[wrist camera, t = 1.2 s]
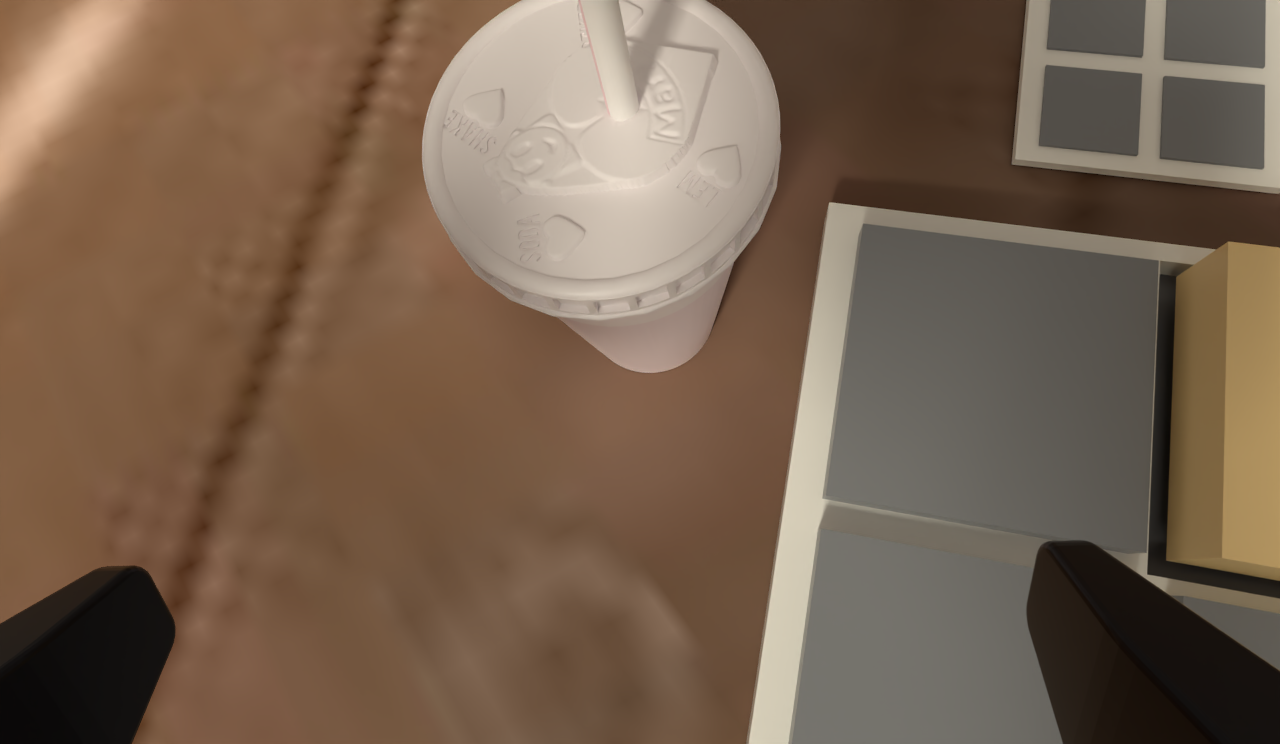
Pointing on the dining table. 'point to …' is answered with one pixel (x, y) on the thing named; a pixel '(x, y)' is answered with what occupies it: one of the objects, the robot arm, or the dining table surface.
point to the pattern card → (1152, 90)
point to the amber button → (1227, 413)
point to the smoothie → (607, 165)
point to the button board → (969, 474)
